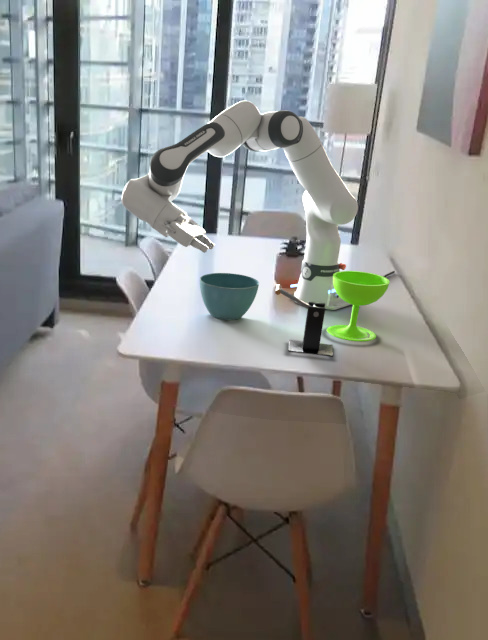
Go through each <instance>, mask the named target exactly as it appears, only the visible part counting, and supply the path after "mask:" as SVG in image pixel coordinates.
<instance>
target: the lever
mask: <svg viewBox="0 0 488 640" xmlns="http://www.w3.org/2000/svg"><path fill="white" fill-rule="evenodd" d="M274 293H275V295H276V296H279V295H280V294H281V295H283V296H285V297H286V298H287V299H290V300H291V301H293V302H295V303H296V302H297V303H296V304H298V305H300V306H302V307H304V308H305V309H307V310H308V308H309V306H311V305H309V304H307V303H305V302H304V301H302V300H300V299H299V298H297V297H295V296H294V294H292V293H289V292H288V291H287V290H285V289H283V288H282V284H280V283H278V284H276V286H275V290H274ZM313 306H315V307H318V306H317V305H315V304H314V305H313Z"/></svg>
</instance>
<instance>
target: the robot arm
mask: <svg viewBox="0 0 488 640" xmlns="http://www.w3.org/2000/svg"><path fill="white" fill-rule="evenodd" d="M241 146H243V147H244V148H245V149H246V150H249V151H251V152H270V151H274V150H278V149H282V150H283V151H284V154H285V156H286V158H287V160H288V162H289V165H290V167H291V169H292V171H293V173H294V175H295V177H296V180H297V181H298V183H299V184H300V185H301V186H302V187H303V189H304V190H305V191H304V192H303V194H302V203H303V204H302V205H303V207H304V211H305V212H304V213H305V224H306V225H305V226H306V227H305V228H306V242H305V248H304V255H303V256H304V257H303V260H302V262H301V267H300V271H301V273H300V275H299V279H298V282H297V283H295V284H290V288H296V291H294V294H293V296H295V297H297V298H299V299H300V300H302V301H304V302H305V303H307V304H309V302H317V303H325V310H331V311H336V310H339V309H342V308H345V307H348V306H351V305H352V304H349V303H347V302H345V301H344V300H343V299H341V298H340V297H339V296H338V294H337V293H336V291H335V289H334V285H333V274H334V273H336V272H340V271H346V268H347V264H345V263H342V262H340V263H338V262H339V258H340V257H339V256H340V250H341V243H342V240H341V239H342V238H341V236H340V232H339V225H347V224H349V223H351V222H352V221H353V220H354V219H355V218H356V216H357V213H358V210H359V204H358V201H357V199H356V198H355V197H354V196H353V193H351V192H350V191H349V188H348V187H347V185H346V184H345V183H344V181H343V179H342V178H341V177H340V175H339V174H338V172H337V171H336V169H335V168H334V166H333V164H332V163H331V160H330V159H329V156H328V154H327V151H326V149H325V147H324V145H323V144H322V141H321V139H320V136H319V135H318V133H317V132H316V130H315V128H314V127H313V126H312V124H311V123H310V121H309V120H308V119H307V118H306V117H304V116H298V115H297V114H296V113H294V112H293V111H291V110H286V109H280V110H276V111H275V110H273V111H266V112H263V113H261V112H260V110H259V108H258V107H257V105H255V103H253V102H252V101H249V100H241V101H239V102H236V103H234V104H233V105H231V106H229V107H227V108H225V109H224V110H223V111H221V112H220V113H219V114H218V115H216V116H215V117H214V118H212V119H211V120H210V121H209V122H207V123H206V124H204V125H203V126H201V127H199V128H198V129H196V130H195V131H193V132H192V133H191V134H189V135H188V136H186V137H184V138H183V139H182V140H179V141H178V142H177V143H174V144H171V145H169V146H165V147H162V148H159V149H158V150H157V151H155V152H154V153H153V154H152V156H151V158H150V161H149V172H148V173H147V174H146V175H143V176H141V177H138V178H131V179H129V180H128V181H127V182H126V184H125V186H124V187H123V190H122V193H121V198H120V199H121V205H122V206H123V207H124V209H126V210H127V211H128V212H129V213H131V215H133V216H134V217H136V218H137V219H138V220H140V221H142V222H145V223H147V224H148V225H149V226H150V228H151V229H153V230H155V231H156V232H157V233H158V234H160V235H162V236H163V237H165V238H169V237H170V238H171V239H173V240H174V241H175V242H177V243H178V244H180V245H181V246H182V247H185V248H187V247H193V248H194V249H197V250H199V251H200V252H202V253H204V254H205V253H207V252H208V250H212V249H214V248H215V246H216V244H215V242H213V241H211V240H210V238H208V237H207V235H206V233H207V231H206V230H205V229H204V228H203V227H202V226H201V225H199V224H198V223H197V222H196V221H195V220H193V219H192V218H191V217H190V216H188V213H187V212H186V211H184V210H183V209H181V208H180V207H178V206H177V205H176V204H174V203H173V201H174V200H175V199H176V198H177V197H178V196H179V194H180V193H181V188H182V186H183V181H184V177H185V175H186V172H187V170H188V167H189V166H190V164H191V163H192V162H194V161H195V160H196V159H198V158H200V157H201V156H202V155H204V154H205V153H206V152H208V153H209V154H210V155H212V156H213V157H217V158H225V157H226V156H228V155H230V154H232V153H233V152H235V151H236V150H237V149H238V148H240V147H241ZM395 273H396V271H395V270H392V271H390V272H388V273H386V274H384V275H382V276H383V277H385V278H387V277H389V276H391V275H392V274H395ZM295 303H296V304H298V303H297V302H295Z"/></svg>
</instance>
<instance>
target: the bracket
mask: <svg viewBox="0 0 488 640" xmlns="http://www.w3.org/2000/svg"><path fill="white" fill-rule="evenodd" d="M314 304H315V305H317V306H318V307H315V306H313V305H314ZM309 305H311V306H309V308H308V309H307V312H306V317H305V325H304V331H303V332H304V333H303V339H302V340H294V339H289V340H288V341H289V342H288V348H287V349H288V352H290V353H291V352H292V353H300V354H309V355H315V356H325V357H333V356H334V354H333V353H334V351H333V344H329V343H321V338H322V332H323V325H324V319H325V313H326V309H325V303H317V302H309Z"/></svg>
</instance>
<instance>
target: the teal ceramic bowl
mask: <svg viewBox="0 0 488 640" xmlns="http://www.w3.org/2000/svg"><path fill="white" fill-rule="evenodd" d="M259 286H260V282H259V280H258V279H257V278H255V277H251V276H249V275H244V274H240V273H232V272H231V273H230V272H213V273H206V274H203V275H201V276H200V277H199V289H200V290H199V291H200V295H201V298H202V302H203V305H204V306H205V308H206V310H207V312H208V313H209V314H210V316H211V317H213V318H215V319H219V320H224V321H225V320H226V321H234V320H240V319H241V318H242V317H243V316H245V314H246V313H247V312H248V311H249V309H250V308H251V307H252V305H253V303H254V301H255V299H256V296H257V294H258V291H259Z"/></svg>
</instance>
